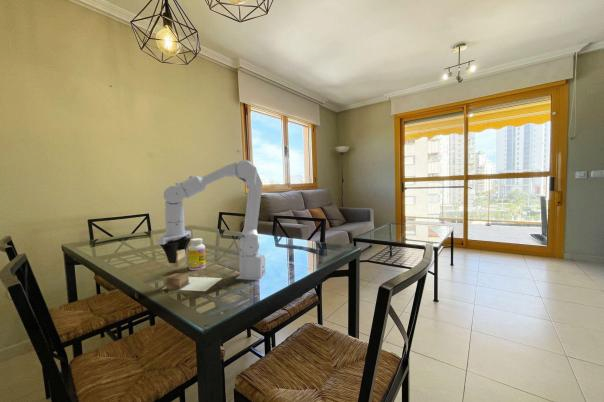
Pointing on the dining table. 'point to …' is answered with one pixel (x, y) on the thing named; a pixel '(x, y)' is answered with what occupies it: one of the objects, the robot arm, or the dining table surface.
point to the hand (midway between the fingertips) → (176, 260)
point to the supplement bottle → (197, 254)
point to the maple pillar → (178, 259)
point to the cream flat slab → (199, 283)
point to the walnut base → (177, 281)
